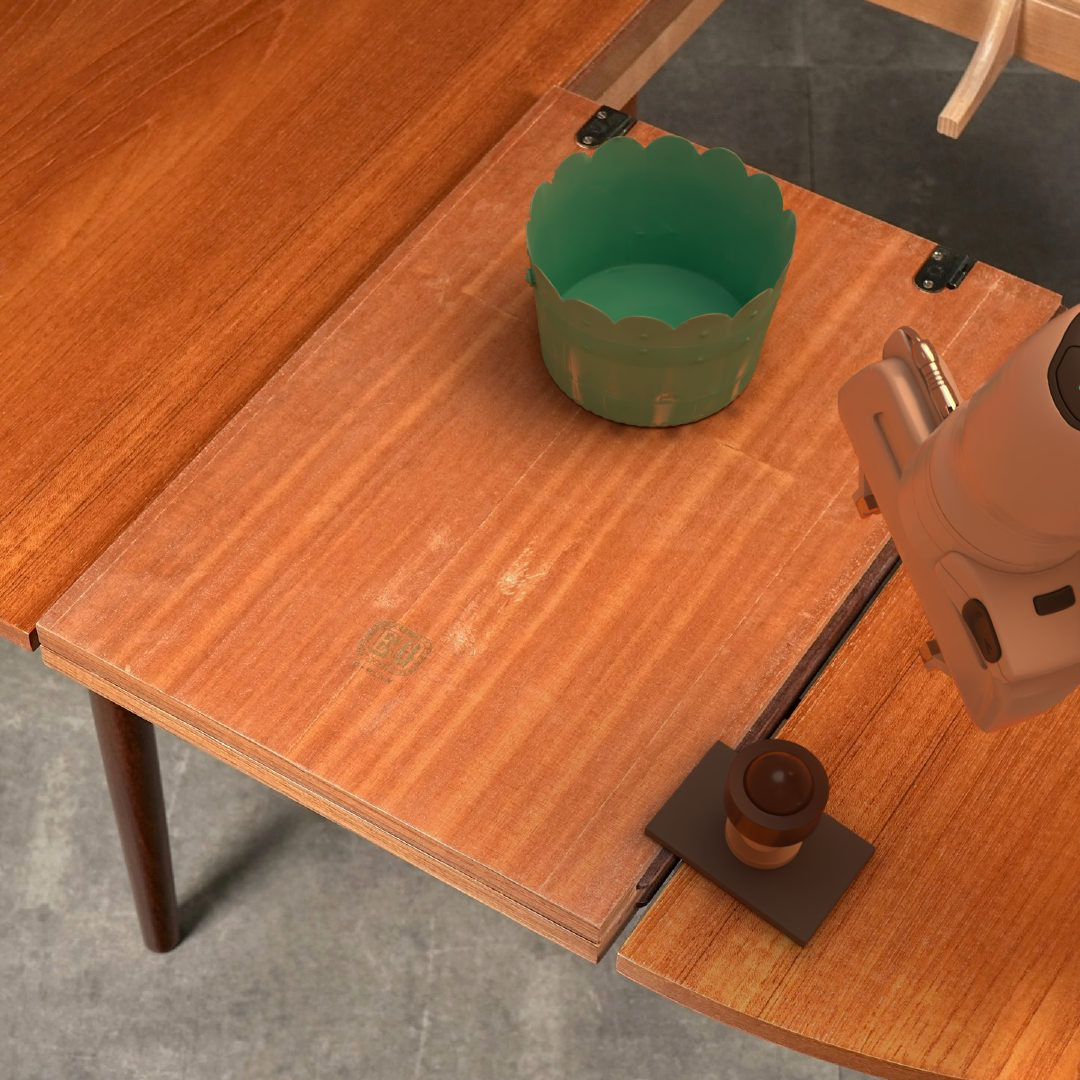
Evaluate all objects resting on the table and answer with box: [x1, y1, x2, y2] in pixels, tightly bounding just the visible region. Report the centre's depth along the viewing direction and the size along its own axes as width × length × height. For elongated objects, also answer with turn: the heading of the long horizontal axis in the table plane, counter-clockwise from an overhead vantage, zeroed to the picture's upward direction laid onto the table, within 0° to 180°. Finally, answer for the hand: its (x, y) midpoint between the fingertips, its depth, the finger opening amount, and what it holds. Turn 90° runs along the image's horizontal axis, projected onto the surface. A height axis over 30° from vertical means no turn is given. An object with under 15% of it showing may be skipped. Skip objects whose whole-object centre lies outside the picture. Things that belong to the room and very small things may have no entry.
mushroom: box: [724, 738, 831, 869], centre depth 102 cm, size 6×6×8 cm
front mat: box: [644, 739, 877, 948], centre depth 106 cm, size 12×8×1 cm, turn 52°
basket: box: [524, 134, 798, 428], centre depth 124 cm, size 19×18×13 cm
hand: (900, 580), depth 96 cm, fingers open, 8 cm apart
